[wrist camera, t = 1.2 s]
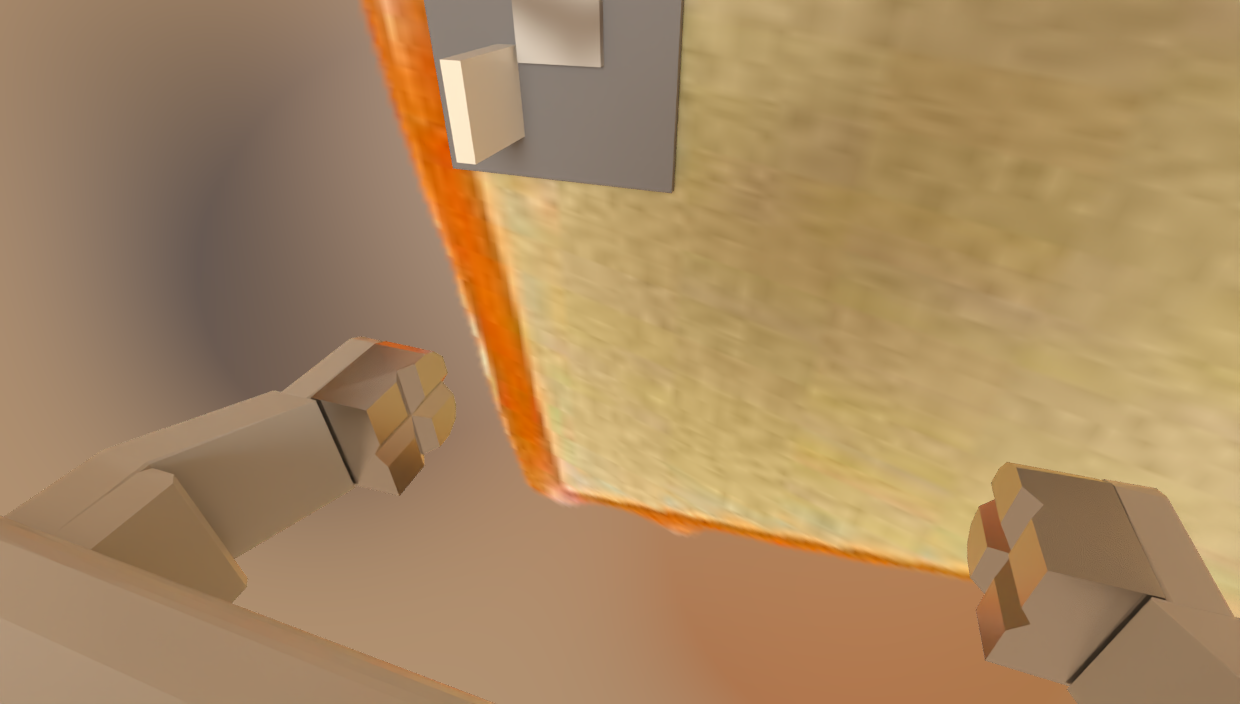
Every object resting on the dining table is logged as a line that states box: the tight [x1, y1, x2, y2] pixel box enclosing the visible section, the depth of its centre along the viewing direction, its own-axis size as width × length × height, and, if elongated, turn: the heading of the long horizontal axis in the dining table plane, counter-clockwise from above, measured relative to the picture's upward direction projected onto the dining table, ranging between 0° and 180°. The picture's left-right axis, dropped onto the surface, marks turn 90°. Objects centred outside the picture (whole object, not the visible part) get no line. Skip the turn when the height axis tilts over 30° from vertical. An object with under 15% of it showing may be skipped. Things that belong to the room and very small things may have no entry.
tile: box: [440, 44, 525, 164], centre depth 38 cm, size 6×2×7 cm, turn 0°
